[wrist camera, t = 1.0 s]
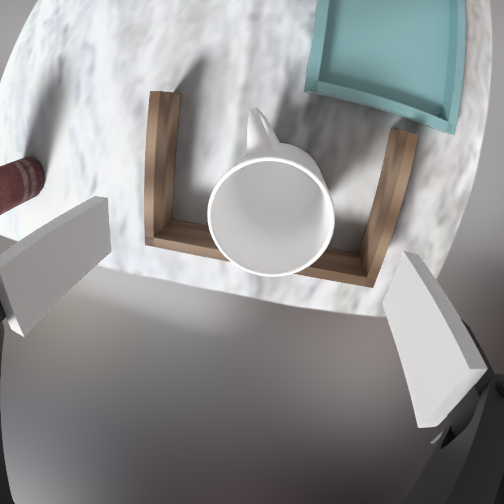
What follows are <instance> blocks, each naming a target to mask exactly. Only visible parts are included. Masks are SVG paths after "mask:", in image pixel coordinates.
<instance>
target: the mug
mask: <svg viewBox="0 0 504 504" xmlns="http://www.w3.org/2000/svg"><path fill="white" fill-rule="evenodd" d="M207 216H208V225H209V230H210V233H211V235H212V238H213V240H214V242H215V244H216V245H217V247H218V248H219V250H220V251H221V252H222V254H223V255H224V256H225V257H226V258H227V259H228V260H229V261H231V262H232V263H233V264H235V265H236V266H238V267H239V268H241V269H243V270H245V271H248V272H250V273H253V274H257V275H262V276H271V277H276V276H285V275H290V274H293V273H296V272H299V271H301V270H303V269H305V268H307V267H308V266H310V265H311V264H312V263H314V262H315V261H316V260H317V259H318V258H319V257H320V256H321V255H322V254H323V252H324V251H325V250H326V248H327V246H328V245H329V243H330V240H331V238H332V235H333V231H334V226H335V210H334V205H333V201H332V199H331V196H330V193H329V191H328V188H327V186H326V183H325V181H324V179H323V176H322V174H321V172H320V169H319V168H318V166H317V164H316V163H315V161H314V160H313V159H312V158H311V156H310V155H309V154H307V153H306V152H305V151H303V150H302V149H300V148H298V147H296V146H294V145H290V144H285V143H280V142H279V140H278V139H277V137H276V135H275V133H274V131H273V129H272V127H271V126H270V124H269V122H268V121H267V119H266V118H265V116H264V115H263V113H262V112H261V111H260V110H259V109H258V108H253V109H252V110H251V111H250V114H249V118H248V125H247V155H246V156H245V157H244V158H242V159H241V160H240V161H239V162H238V163H236V164H235V165H234V166H233V167H232V168H231V169H229V170H228V171H227V172H226V173H225V174H224V175H223V176H222V177H221V178H220V180H219V181H218V182H217V184H216V185H215V187H214V189H213V191H212V193H211V196H210V199H209V204H208V213H207Z"/></svg>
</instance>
